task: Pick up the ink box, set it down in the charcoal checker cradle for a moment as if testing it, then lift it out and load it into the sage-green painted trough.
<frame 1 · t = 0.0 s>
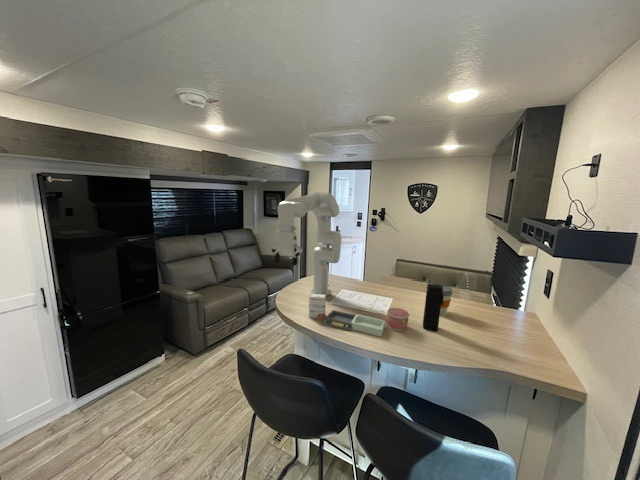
hand: (285, 263, 123), 31 cm above the worktop, fingers open, 9 cm apart
checker cradle: (341, 321, 132), on the worktop
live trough: (368, 328, 127), on the worktop
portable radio: (431, 328, 129), on the worktop
ink box: (317, 316, 138), on the worktop
reusable coffee cup: (437, 312, 148), on the worktop
container: (396, 327, 129), on the worktop
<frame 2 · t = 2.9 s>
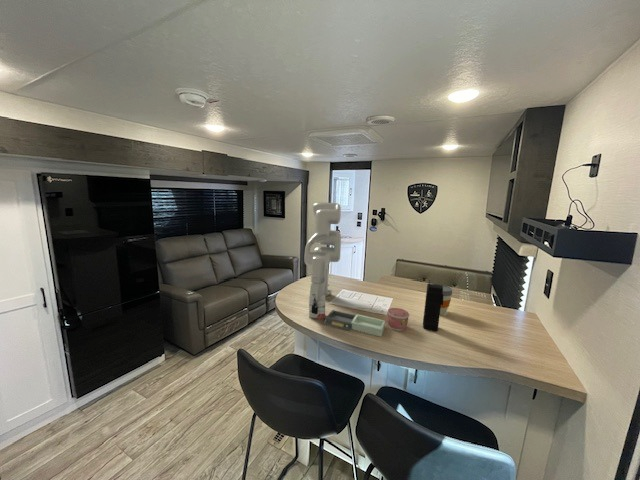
hand: (317, 310, 137), 3 cm above the worktop, fingers closed on ink box, 6 cm apart
ink box: (317, 316, 138), on the worktop, touching gripper
everything else where it was.
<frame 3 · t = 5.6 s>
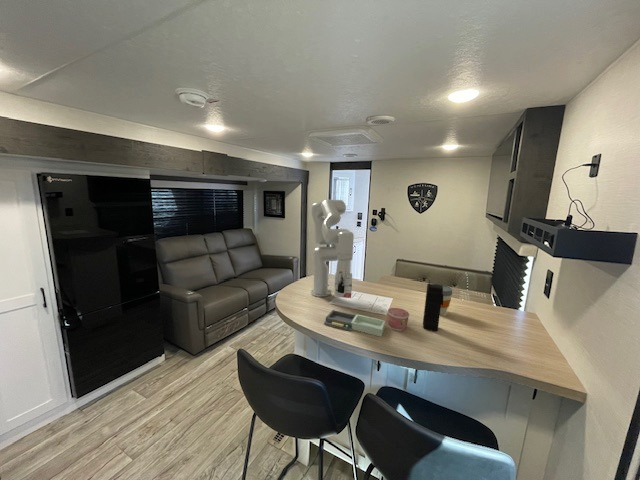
hand: (343, 290, 129), 17 cm above the worktop, fingers closed on ink box, 6 cm apart
ink box: (342, 296, 130), point 14 cm above the worktop, touching gripper
everything else where it was.
when the fingers open (5 cm above the worktop, at t = 8.2 s): ink box drops 1 cm, resting on checker cradle.
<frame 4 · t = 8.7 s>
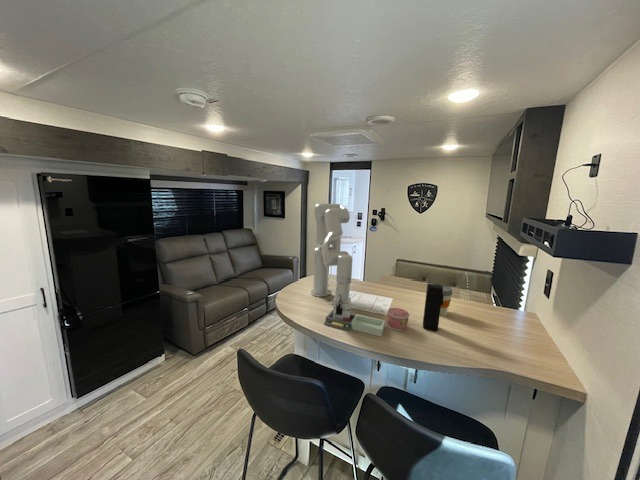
hand: (342, 310, 131), 6 cm above the worktop, fingers open, 9 cm apart
ink box: (341, 319, 133), point 1 cm above the worktop, touching checker cradle
everything else where it was.
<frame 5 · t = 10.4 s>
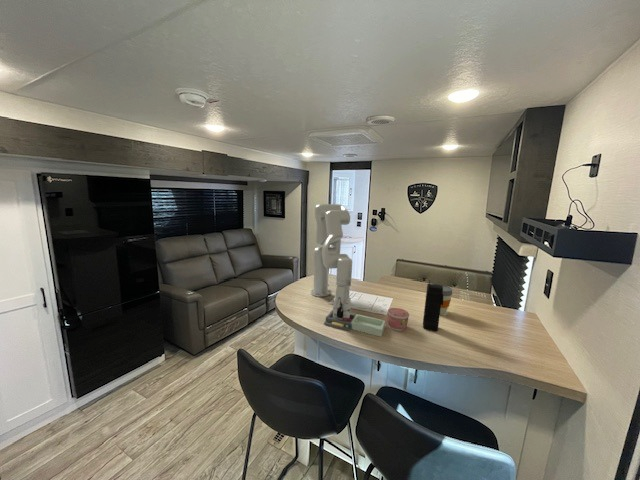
hand: (341, 314, 132), 4 cm above the worktop, fingers closed on ink box, 5 cm apart
ink box: (341, 320, 132), point 1 cm above the worktop, touching checker cradle, gripper
everything else where it was.
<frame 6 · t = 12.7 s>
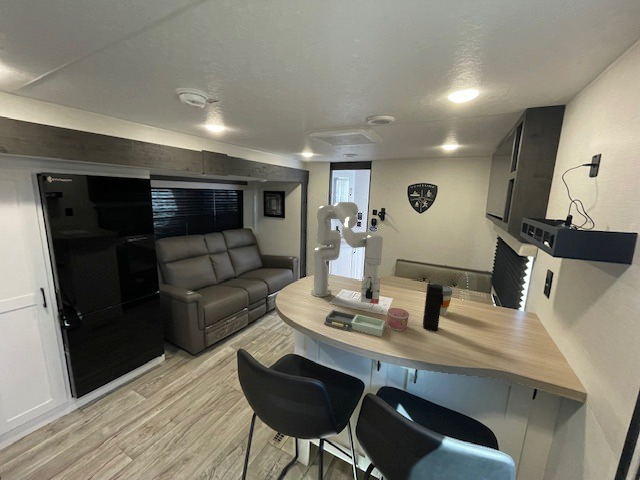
hand: (370, 296, 124), 17 cm above the worktop, fingers closed on ink box, 5 cm apart
ink box: (369, 301, 125), point 14 cm above the worktop, touching gripper
everything else where it was.
when the fingers open (5 cm above the worktop, at t = 15.1 s): ink box drops 1 cm, resting on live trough.
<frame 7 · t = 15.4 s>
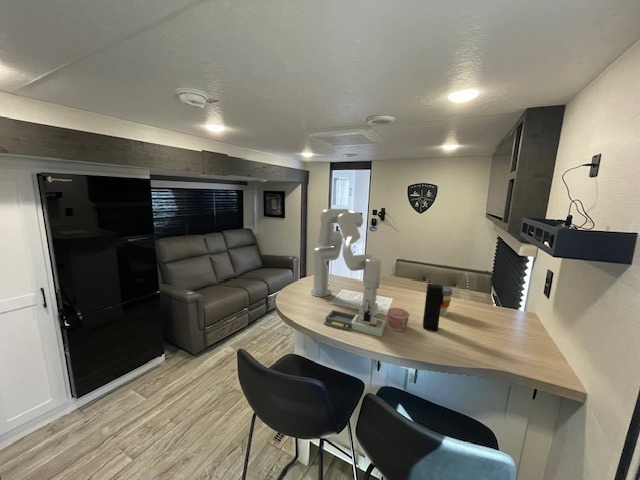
hand: (368, 317, 126), 6 cm above the worktop, fingers open, 7 cm apart
ink box: (367, 326, 127), point 1 cm above the worktop, touching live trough
everything else where it was.
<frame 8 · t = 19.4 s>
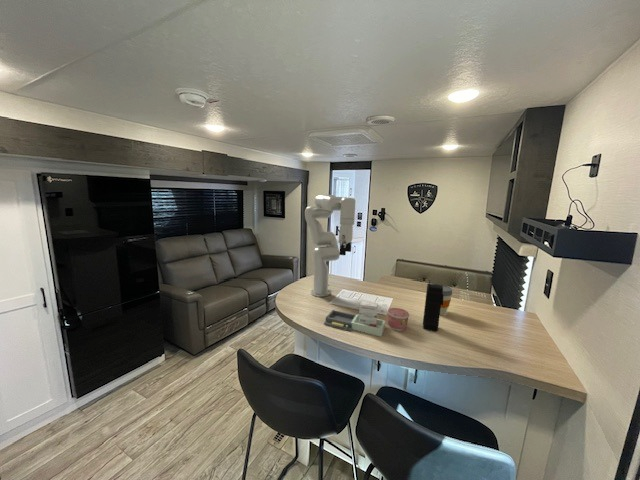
hand: (345, 253, 137), 34 cm above the worktop, fingers open, 9 cm apart
nothing on the worktop moved.
at the end: ink box inside the target area on the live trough (0.4 cm from its centre), point 0.8 cm above the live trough's base; ink box tilted 0°; the gripper is holding nothing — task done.
